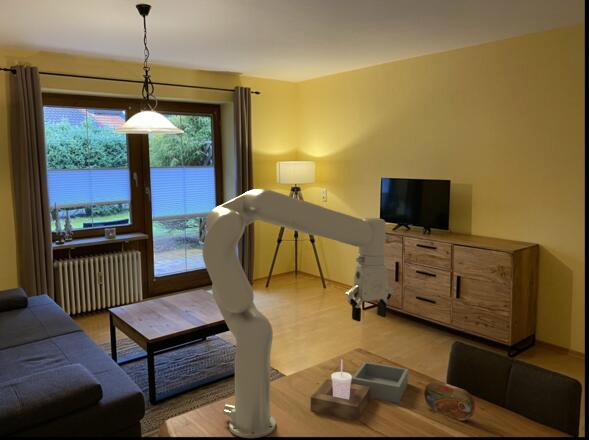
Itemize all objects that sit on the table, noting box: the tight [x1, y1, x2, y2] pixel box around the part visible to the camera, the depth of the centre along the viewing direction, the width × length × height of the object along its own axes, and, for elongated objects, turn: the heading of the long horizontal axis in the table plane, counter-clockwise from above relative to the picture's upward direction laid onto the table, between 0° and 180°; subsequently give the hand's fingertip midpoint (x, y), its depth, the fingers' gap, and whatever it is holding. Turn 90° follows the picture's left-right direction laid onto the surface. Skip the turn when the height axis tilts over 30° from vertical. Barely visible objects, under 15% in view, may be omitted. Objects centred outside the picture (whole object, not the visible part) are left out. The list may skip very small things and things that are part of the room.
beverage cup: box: [330, 358, 353, 399], centre depth 141 cm, size 6×6×14 cm
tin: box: [423, 381, 476, 422], centre depth 137 cm, size 15×3×8 cm, turn 42°
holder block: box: [310, 378, 371, 421], centre depth 142 cm, size 14×14×4 cm
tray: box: [351, 361, 409, 404], centre depth 153 cm, size 15×15×5 cm
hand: (369, 318), depth 139 cm, fingers open, 9 cm apart
